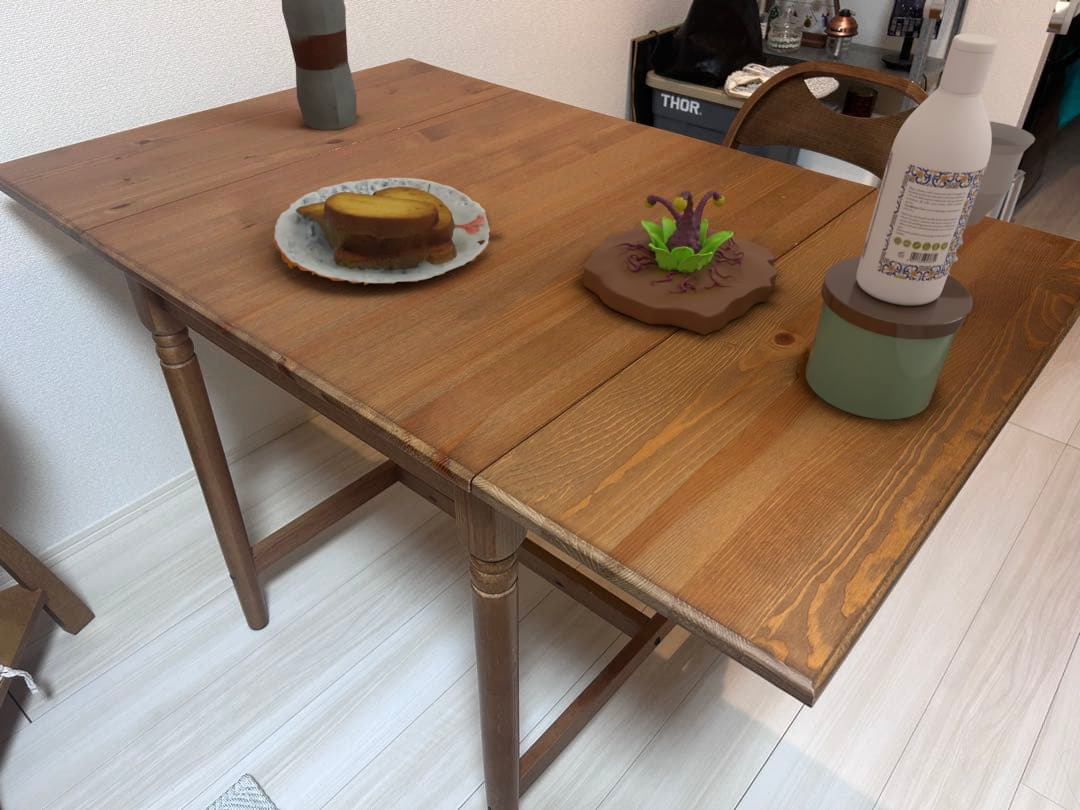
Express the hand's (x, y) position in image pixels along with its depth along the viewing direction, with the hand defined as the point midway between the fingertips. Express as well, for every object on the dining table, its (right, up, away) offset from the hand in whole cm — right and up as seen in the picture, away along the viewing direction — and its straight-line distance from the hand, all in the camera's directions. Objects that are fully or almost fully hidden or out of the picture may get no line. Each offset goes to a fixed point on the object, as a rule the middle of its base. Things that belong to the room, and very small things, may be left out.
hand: (992, 21), depth 66 cm
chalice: (+6, -20, +22) cm, 30 cm away
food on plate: (-55, -12, +31) cm, 64 cm away
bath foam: (-6, -21, +3) cm, 23 cm away
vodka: (-71, +14, +64) cm, 97 cm away
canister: (-6, -29, +9) cm, 31 cm away
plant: (-22, -18, +24) cm, 37 cm away
